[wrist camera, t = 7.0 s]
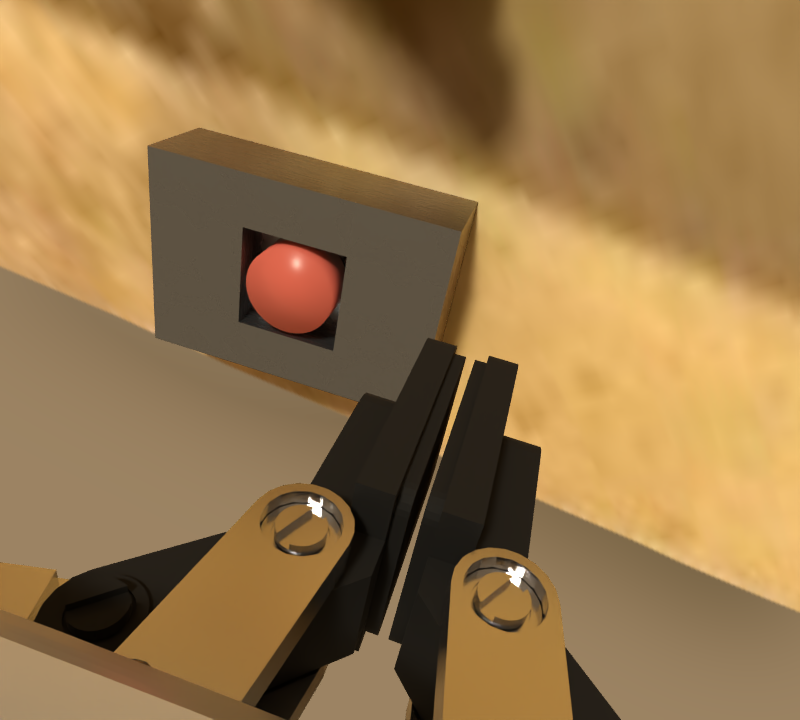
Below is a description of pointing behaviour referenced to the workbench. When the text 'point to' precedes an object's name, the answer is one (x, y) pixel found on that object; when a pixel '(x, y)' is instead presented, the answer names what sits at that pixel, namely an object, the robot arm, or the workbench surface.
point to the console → (310, 225)
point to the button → (295, 285)
